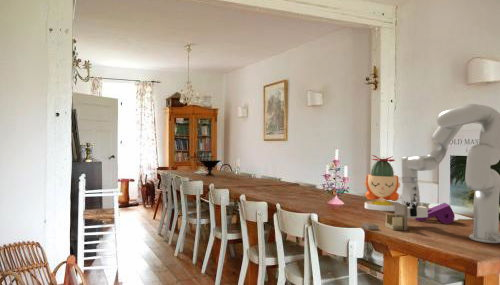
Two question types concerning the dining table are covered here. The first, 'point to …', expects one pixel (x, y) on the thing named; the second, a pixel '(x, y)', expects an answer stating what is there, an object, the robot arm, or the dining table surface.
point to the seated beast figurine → (401, 199)
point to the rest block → (370, 225)
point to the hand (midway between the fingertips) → (410, 215)
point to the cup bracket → (397, 217)
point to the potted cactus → (382, 186)
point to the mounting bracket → (440, 213)
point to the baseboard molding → (461, 218)
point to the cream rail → (419, 212)
